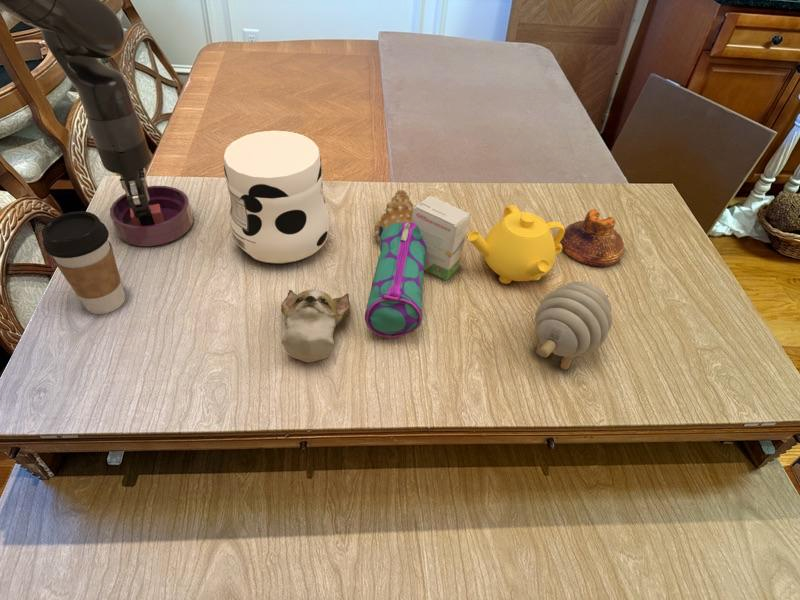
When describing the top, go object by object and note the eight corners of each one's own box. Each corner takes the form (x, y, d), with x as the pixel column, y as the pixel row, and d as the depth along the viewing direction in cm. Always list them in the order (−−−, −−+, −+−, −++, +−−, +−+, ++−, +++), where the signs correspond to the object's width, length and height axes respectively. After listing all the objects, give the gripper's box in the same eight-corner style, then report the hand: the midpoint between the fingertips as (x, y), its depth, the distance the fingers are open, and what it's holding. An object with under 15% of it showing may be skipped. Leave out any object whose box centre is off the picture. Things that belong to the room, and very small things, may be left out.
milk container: (341, 221, 104) (338, 134, 91) (315, 279, 92) (308, 189, 79) (255, 208, 106) (241, 121, 93) (218, 264, 93) (196, 173, 81)
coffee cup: (77, 326, 82) (35, 248, 71) (75, 290, 87) (36, 213, 76) (136, 311, 84) (104, 235, 74) (131, 278, 90) (101, 202, 79)
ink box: (405, 261, 96) (410, 206, 88) (421, 247, 99) (427, 193, 91) (446, 282, 93) (455, 226, 85) (461, 267, 96) (472, 212, 88)
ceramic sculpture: (262, 328, 71) (283, 261, 82) (268, 372, 77) (287, 303, 88) (343, 333, 71) (352, 265, 83) (343, 376, 77) (352, 307, 88)
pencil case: (377, 254, 97) (379, 210, 90) (426, 259, 97) (432, 216, 90) (362, 340, 82) (363, 295, 75) (419, 346, 82) (426, 302, 75)
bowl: (119, 254, 94) (111, 234, 91) (116, 212, 102) (109, 192, 99) (198, 239, 98) (192, 219, 95) (189, 200, 106) (183, 180, 103)
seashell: (369, 237, 106) (376, 186, 103) (409, 242, 108) (416, 191, 105) (375, 246, 97) (383, 190, 95) (419, 251, 99) (427, 196, 96)
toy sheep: (612, 331, 86) (636, 280, 79) (572, 401, 76) (596, 350, 68) (551, 303, 90) (568, 251, 83) (505, 366, 80) (521, 314, 72)
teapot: (459, 273, 95) (468, 222, 87) (493, 235, 103) (504, 185, 95) (535, 308, 89) (552, 256, 82) (564, 265, 98) (582, 214, 90)
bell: (546, 236, 104) (556, 204, 99) (596, 224, 108) (608, 193, 102) (583, 274, 96) (596, 242, 91) (636, 259, 100) (650, 227, 95)
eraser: (135, 230, 98) (130, 217, 96) (134, 221, 100) (129, 208, 97) (164, 225, 99) (160, 212, 97) (163, 216, 101) (159, 203, 99)
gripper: (93, 121, 91) (125, 206, 103) (94, 162, 82) (129, 250, 94) (141, 115, 93) (166, 199, 105) (147, 154, 84) (174, 242, 96)
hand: (148, 223), depth 99 cm, fingers closed on eraser, 2 cm apart
